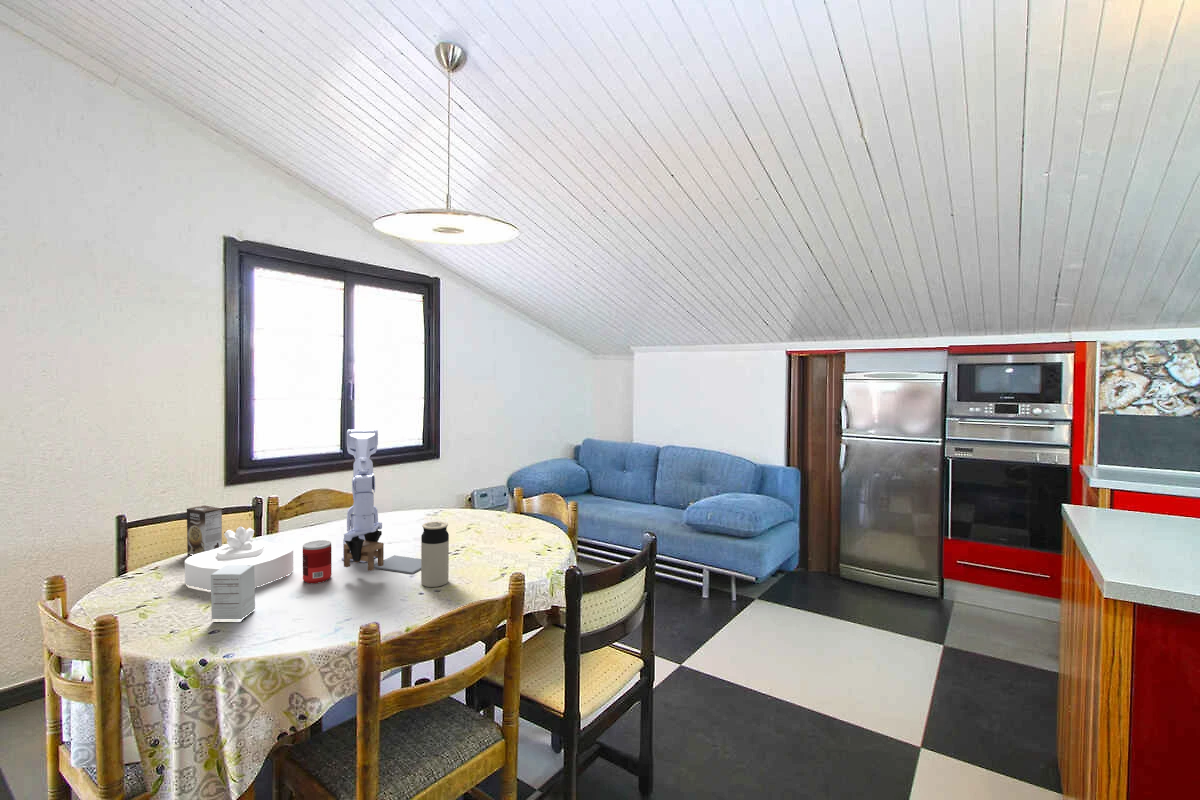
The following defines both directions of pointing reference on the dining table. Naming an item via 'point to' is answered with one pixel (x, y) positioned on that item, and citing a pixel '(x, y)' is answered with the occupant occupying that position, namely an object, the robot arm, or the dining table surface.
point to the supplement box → (232, 592)
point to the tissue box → (240, 559)
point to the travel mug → (434, 554)
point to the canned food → (317, 561)
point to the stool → (367, 554)
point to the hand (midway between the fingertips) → (363, 557)
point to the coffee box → (203, 529)
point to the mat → (401, 564)
